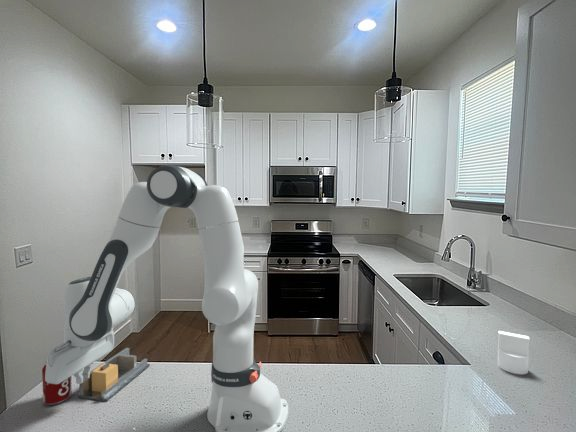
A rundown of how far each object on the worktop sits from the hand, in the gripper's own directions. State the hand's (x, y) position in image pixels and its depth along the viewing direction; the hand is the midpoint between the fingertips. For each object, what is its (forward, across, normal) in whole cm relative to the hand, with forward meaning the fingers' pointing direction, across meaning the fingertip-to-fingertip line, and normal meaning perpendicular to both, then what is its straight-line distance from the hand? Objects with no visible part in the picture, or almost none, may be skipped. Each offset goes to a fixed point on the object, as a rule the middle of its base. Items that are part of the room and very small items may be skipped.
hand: (82, 381), depth 89 cm
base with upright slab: (+4, +48, -134) cm, 142 cm away
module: (+6, +8, -1) cm, 10 cm away
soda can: (+7, 0, +9) cm, 12 cm away
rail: (+7, +12, -1) cm, 14 cm away
